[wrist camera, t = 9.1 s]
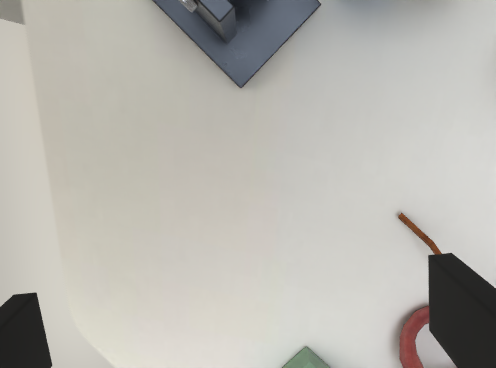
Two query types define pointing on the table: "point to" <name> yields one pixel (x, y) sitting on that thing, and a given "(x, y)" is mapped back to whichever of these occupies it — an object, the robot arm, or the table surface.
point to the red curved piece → (412, 338)
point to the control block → (306, 360)
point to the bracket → (239, 29)
